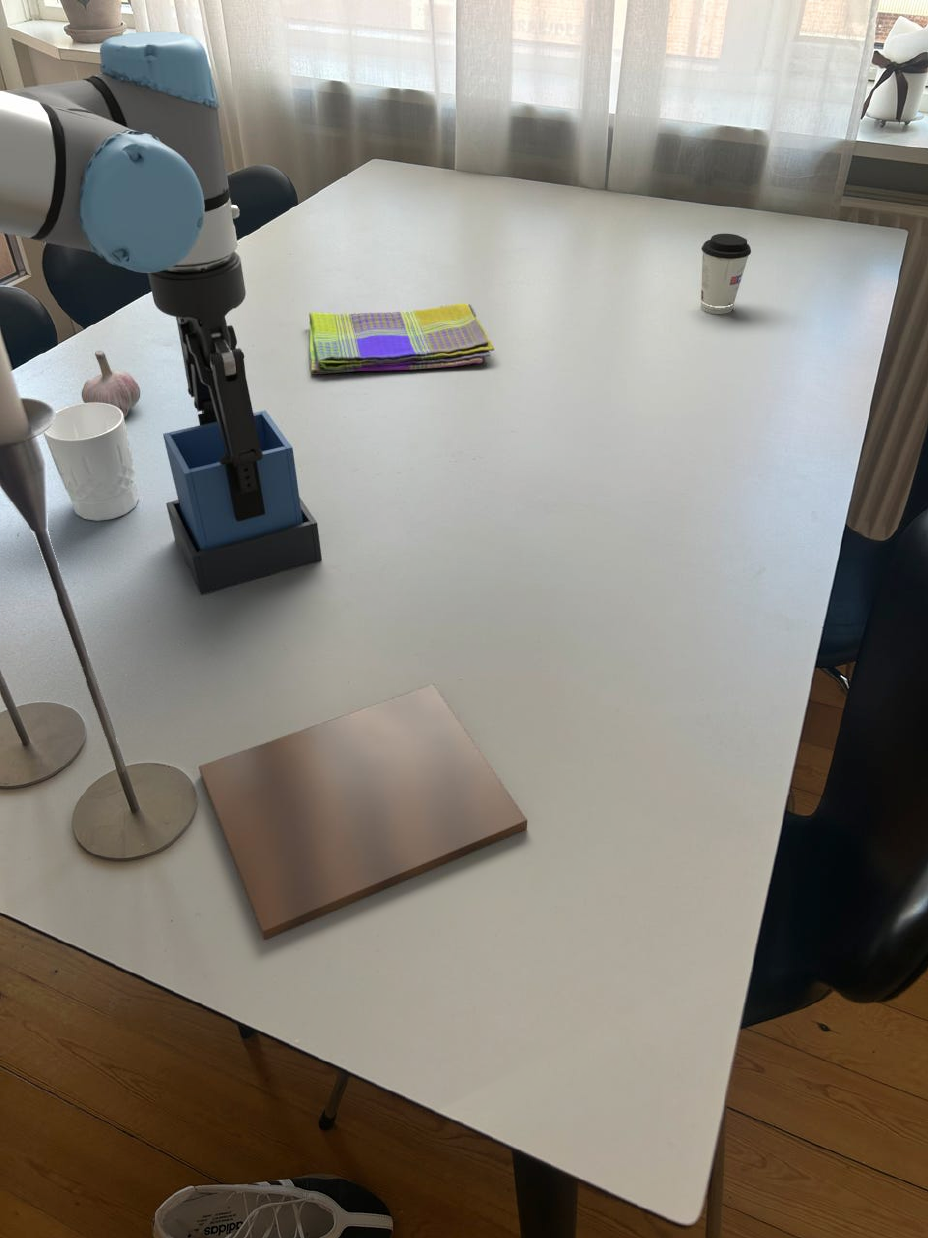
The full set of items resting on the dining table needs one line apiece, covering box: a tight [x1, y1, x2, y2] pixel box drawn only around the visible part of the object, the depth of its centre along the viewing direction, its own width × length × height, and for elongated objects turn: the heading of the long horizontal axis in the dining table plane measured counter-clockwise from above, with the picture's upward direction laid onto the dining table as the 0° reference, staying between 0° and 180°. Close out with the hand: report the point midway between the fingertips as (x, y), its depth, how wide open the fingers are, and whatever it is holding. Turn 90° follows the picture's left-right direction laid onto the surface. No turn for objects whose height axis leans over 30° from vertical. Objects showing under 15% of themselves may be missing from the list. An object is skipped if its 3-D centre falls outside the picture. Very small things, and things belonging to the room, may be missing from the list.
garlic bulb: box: [81, 349, 141, 419], centre depth 117 cm, size 8×7×8 cm
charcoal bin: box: [165, 496, 323, 596], centre depth 96 cm, size 12×10×4 cm
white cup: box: [43, 402, 140, 522], centre depth 101 cm, size 8×8×10 cm
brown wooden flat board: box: [198, 683, 528, 940], centre depth 72 cm, size 20×16×1 cm
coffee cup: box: [700, 233, 752, 315], centre depth 140 cm, size 7×7×10 cm
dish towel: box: [308, 302, 495, 375], centre depth 133 cm, size 18×24×3 cm
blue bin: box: [162, 410, 303, 552], centre depth 93 cm, size 10×8×12 cm
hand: (236, 492), depth 93 cm, fingers closed on blue bin, 8 cm apart
